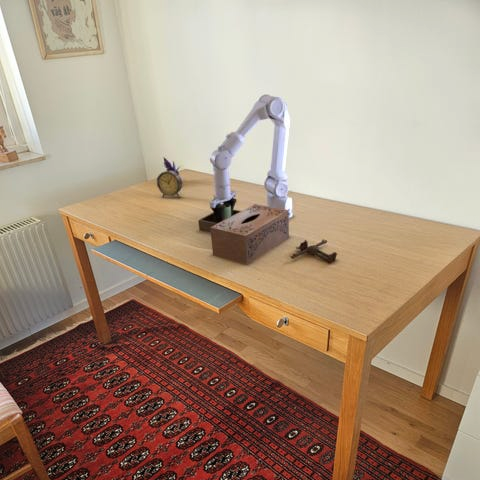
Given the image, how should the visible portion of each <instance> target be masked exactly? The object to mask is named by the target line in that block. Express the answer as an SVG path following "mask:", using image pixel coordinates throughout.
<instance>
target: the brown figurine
mask: <svg viewBox="0 0 480 480" xmlns="http://www.w3.org/2000/svg"><path fill="white" fill-rule="evenodd" d="M327 243H328V240H327V239H324V238H323V239H321V241H320V242H318V243H316V244H313V245H309V242H308V240H306V239H305V240H304V241H303V242H300V244H299V246H296V247H295V249H296V250H299V252H297V253H292V255H291V256H290V259H292V260H293V259H294V260H295V259H296V258H298V257H299V256H301V255H304V254H309V255H311V256H316V257H317V258H320V259H322V260H323V261H325V262H327V263H329V264H330V263H332V262H335V261H336V259H337V255H338V253H337V252H336V251H333V252H332V253H330V254H328V253H327V252H325V251H322V250H320V249H319V247H321V246H322V245H325V244H327Z"/></svg>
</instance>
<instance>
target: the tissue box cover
mask: <svg viewBox="0 0 480 480" xmlns="http://www.w3.org/2000/svg"><path fill="white" fill-rule="evenodd" d="M240 211H241V212H239V213H237V214H235V215H233V216H231V217H229V218H227V219H225V220H223V221H222V222H220V223H218V224H216V225H214V226H212V227H210V229H211V233H210V239H211V250H212V256H214V257H218V258H222V259H225V260H229V261H232V262H235V263H238V264H239V263H240V264H243V265H245V266H246V265H249V264H251V263H252V262H254V261H255V260H257V259H258V258H260V257H261V256H263V255H265V254H266V253H268V252H269V251H270V250H272V249H274V248H275V247H277V246H278V245H279V244H281V243H282V242H284V241H285V240H287V239H289V237H290V218H289V210H284V209H278V208H273V207H268V206H267V205H262V204H257V203H255V204H253V205H250V206H248V207H247V208H245V209H243V210H240Z"/></svg>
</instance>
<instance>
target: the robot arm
mask: <svg viewBox="0 0 480 480" xmlns="http://www.w3.org/2000/svg"><path fill="white" fill-rule="evenodd" d="M268 119H269V120H270V121H271V122H272V124H274V129H273V139H272V140H273V141H272V148H271V149H272V150H271V162H270V169H268V171H267V174H266V178H265V180H264V182H263V184H264V185H263V187H264V189H265V190H266V206H268V207H273V208H278V209H284V210H289V219H290V218H291V217H293V216H294V214H293V199H292V197H290V196H288V195H287V194H288V192H289V189H290V188H289V182H288V180H289V179H288V178H289V177H288V176H287V172H286V164H287V163H286V162H287V153H288V144H289V134H290V126H291V117H290V114H289V112H288V109H287V103H286V102H285V101H284V99H282V98H281V97H279V96H273V95H270V94H263V95H261V96H260V97H259V98H258V100H256V102H255V103H254V105H253V106H252V109H251V110H250V111H249V113H247V115H246V116H245V118H244V119H243V121H242V123H241V124H240V125H239V126H238V128H237V130H236V131H231V132H230V133H227V134H226V135H225V137H226V138H225V139H224V141H223V142H221V144H220V145H217V149H216V150H213V151H212V152H211V155H210V158H209V161H210V163H211V165H212V169H213V184H214V195H213V197H212V199H211V200H210V201H209V208H210V209H211V210H212V213H213V212H214V214H215V216H216V219H217V222H218V223H220V222H222V221H223V214H224V209H225V206H221V204H229V205H231V216H232V213H233V210H235V209H234V208H235V205H236V203H237V191H236V190H231V181H230V166H231V164H232V159H233V158H234V156H235V155H236V153H237V152H238V151H239V150H240V148H241V147H242V146H243V145H244V138H245V137H246V136H247V135H248V134H249V133H250V131H252V129H254V127H255V126H256V125H257V124H258V123H259V122H260V121H264V120H268Z"/></svg>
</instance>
